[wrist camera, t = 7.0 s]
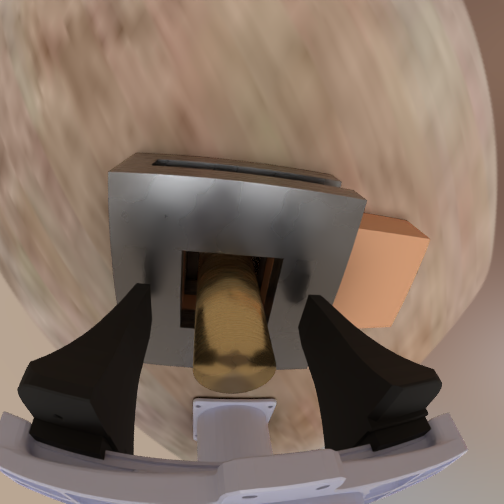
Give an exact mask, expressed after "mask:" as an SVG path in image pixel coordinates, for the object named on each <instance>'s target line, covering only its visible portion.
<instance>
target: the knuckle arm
mask: <svg viewBox="0 0 504 504" xmlns="http://www.w3.org/2000/svg"><path fill="white" fill-rule="evenodd" d="M429 242H430V238H428V237H427V236H426V235H425V234H423V233H422V232H421V231H420V230H418V229H417V228H416V227H414V226H413V225H412V224H411V223H409V222H408V221H406V220H401V219H396V218H390V217H385V216H379V215H373V214H367V213H363V216H362V220H361V223H360V226H359V230H358V233H357V236H356V239H355V242H354V245H353V249H352V252H351V255H350V258H349V261H348V264H347V267H346V269H345V272H344V275H343V278H342V281H341V284H340V287H339V289H338V292H337V295H336V297H335V300H334V303H333V305H332V306H333V307H335V308H336V309H337V310H338V311H339V312H340V313H341V314H342V315H343V316H344V317H345V318H347V319H348V320H349V321H350V322H351V323H352V324H353V325H355V326H356V327H357V328H375V327H391V325H392V324H393V322H394V320H395V318H396V316H397V314H398V312H399V310H400V308H401V306H402V304H403V302H404V300H405V298H406V296H407V293H408V291H409V289H410V287H411V285H412V283H413V280H414V278H415V276H416V274H417V271H418V269H419V267H420V264H421V262H422V259H423V257H424V255H425V252H426V250H427V247H428V244H429ZM185 254H186V251H184V261H183V291H182V309H186V310H196V296H197V295H188V294H184V277H185ZM273 262H274V258H270V257H267V261H266V266H265V271H264V276H263V281H262V286H261V290H260V296H261V300H262V304H263V307H264V303H265V298H266V294H267V289H268V285H269V280H270V276H271V271H272V266H273Z"/></svg>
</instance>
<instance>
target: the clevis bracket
mask: <svg viewBox="0 0 504 504" xmlns="http://www.w3.org/2000/svg"><path fill="white" fill-rule="evenodd" d="M341 183H342V182H341V181H340V180H338V179H337V178H335V177H334V176H333V175H330V174H324V173H319V172H313V171H307V170H301V169H295V168H289V167H282V166H276V165H269V164H261V163H254V162H246V161H237V160H228V159H219V158H209V157H197V156H185V155H171V154H153V153H135V154H134V155H132V156H131V157H129V158H128V159H126V160H125V161H123V162H122V163H120V164H119V165H117V166H116V167H114V168H113V169H112V170H110V171H109V172H108V205H109V229H110V244H111V256H112V267H113V276H114V285H115V292H116V300H117V304H118V303H119V302H120V301H121V300H122V299H123V298H124V297H125V296H126V294H127V293H128V292H129V291H130V290H131V289H132V288H133V286H134V285H135V284H137V283H142V284H150V290H151V307H152V325H151V332H150V339H149V343H148V346H147V350H146V354H145V358H144V362H143V363H147V364H156V365H166V366H178V367H191V368H193V353H194V330H195V312H196V310H186V309H182V291H183V261H184V251H186V254H185V277H184V294H188V295H197V282H198V280H190V279H186V265H187V251H195V252H208V253H220V254H233V255H245V256H258V257H261V258H260V263H259V268H258V274H257V282H258V287H259V291H260V290H261V286H262V281H263V276H264V271H265V266H266V261H267V257H270V258H274V262H273V266H272V271H271V276H270V280H269V285H268V289H267V294H266V298H265V303H264V307H263V309H264V313H265V317H266V322H267V326H268V330H269V335H270V339H271V343H272V348H273V352H274V356H275V361H276V370H282V369H307V367H308V363H307V361H306V358H305V355H304V352H303V349H302V346H301V341H300V336H299V330H298V325H299V322H300V319H301V316H302V313H303V310H304V307H305V304H306V301H307V298H308V295H321V296H322V297H324V298H325V299H326V300H327V301H328V302H329V303H330V304H331V305H333V303H334V300H335V297H336V295H337V292H338V289H339V287H340V284H341V281H342V278H343V275H344V272H345V269H346V267H347V264H348V261H349V258H350V255H351V252H352V249H353V245H354V242H355V239H356V236H357V233H358V230H359V226H360V223H361V220H362V216H363V213H364V209H365V206H366V202H367V200H366V199H365V198H363V197H362V196H361V195H359V194H358V193H357V192H355V191H354V190H350V189H344V188H340V187H341Z"/></svg>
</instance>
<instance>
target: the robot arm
mask: <svg viewBox="0 0 504 504" xmlns="http://www.w3.org/2000/svg"><path fill="white" fill-rule="evenodd" d="M151 325H152V307H151V290H150V284H142V283H137V284H135V285H134V286H133V288H132V289H131V290H130V291H129V292H128V293H127V294H126V296H125V297H124V298H123V299H122V300H121V301H120V302H119V303H118V304H117V305H116V306H115V307H114V308H113V309H112V310H111V311H110V312H109V313H108V314H107V315H106V316H105V317H104V318H103V319H102V320H101V321H100V322H99V323H97V324H96V325H95V326H94V327H93V328H91V329H90V330H89V331H88V332H86V333H85V334H84V335H82V336H80V337H79V338H77V339H76V340H74V341H73V342H71V343H70V344H68V345H66V346H64V347H63V348H61V349H59V350H57V351H55V352H53V353H51V354H49V355H47V356H44V357H41V358H39V359H37V360H34V361H31V362H30V363H29V365H28V367H27V369H26V371H25V373H24V375H23V377H22V380H21V382H20V385H19V387H18V394H19V397H20V398H21V400H22V402H23V403H24V404H25V406H26V407H27V409H28V410H29V411H30V413H31V414H32V415H33V417H34V419H33V422H32V424H31V423H30V422H28V421H27V420H25V419H23V418H20V417H18V416H15V415H12V414H10V413H8V412H3V414H2V417H1V420H0V471H1V472H2V473H4V474H5V475H6V476H8V477H9V478H10V479H12V480H13V481H15V482H16V483H18V484H19V485H22V486H24V487H26V488H28V489H31V490H33V491H35V492H38V493H40V494H43V495H45V496H47V497H50V498H53V499H55V500H58V501H61V502H64V503H66V504H369V503H371V502H374V501H377V500H380V499H382V498H385V497H387V496H389V495H392V494H394V493H396V492H399V491H401V490H404V489H406V488H408V487H410V486H412V485H415V484H417V483H419V482H421V481H423V480H425V479H427V478H429V477H432V476H434V475H436V474H437V473H439V472H440V471H442V470H443V469H445V468H446V467H447V466H449V465H450V464H452V463H453V462H454V461H456V460H457V459H458V458H460V457H461V456H462V455H463V454H465V453H466V452H467V451H468V448H467V446H466V444H465V442H464V440H463V438H462V436H461V434H460V432H459V430H458V429H457V427H456V425H455V423H454V421H453V419H452V418H451V416H450V414H449V413H445V414H442V415H439V416H437V417H434V418H432V419H431V420H429V421H427V419H426V417H425V416H427V415H428V412H427V410H426V407H427V406H428V405H429V404H430V402H431V401H432V400H433V399H434V398H435V397H436V396H437V394H438V393H439V391H440V389H441V387H442V382H441V380H440V379H439V377H438V375H437V374H436V372H435V371H434V369H431V368H428V367H425V366H423V365H420V364H417V363H414V362H412V361H410V360H408V359H405V358H403V357H401V356H399V355H397V354H395V353H394V352H392V351H390V350H388V349H386V348H385V347H383V346H382V345H380V344H379V343H377V342H376V341H374V340H373V339H371V338H370V337H368V336H367V335H366V334H364V333H363V332H362V331H361V330H359V329H358V328H357V327H356V326H355V325H353V324H352V323H351V322H350V321H349V320H348V319H347V318H345V317H344V316H343V315H342V314H341V313H340V312H339V311H338V310H337V309H336V308H335V307H333V306H332V305H331V304H330V303H329V302H328V301H327V300H326V299H325V298H324V297H322V296H321V295H308V298H307V301H306V304H305V307H304V310H303V313H302V316H301V319H300V322H299V325H298V330H299V336H300V341H301V346H302V349H303V352H304V355H305V358H306V361H307V363H308V366H309V369H310V372H311V375H312V378H313V381H314V384H315V388H316V392H317V397H318V402H319V407H320V413H321V419H322V426H323V434H324V443H325V449H318V450H311V451H304V452H296V453H286V454H275V455H273V451H272V446H271V440H270V435H269V429H268V422H269V420H270V418H271V416H272V413H273V411H274V409H275V406H276V404H277V403H276V400H275V399H205V398H196V399H194V400H193V439H194V440H196V441H197V453H198V461H182V460H169V459H159V458H150V457H142V456H135V455H134V454H133V452H134V446H133V445H134V422H135V409H136V398H137V389H138V383H139V378H140V373H141V369H142V366H143V362H144V358H145V354H146V350H147V346H148V343H149V339H150V332H151Z"/></svg>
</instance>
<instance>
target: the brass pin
mask: <svg viewBox="0 0 504 504" xmlns="http://www.w3.org/2000/svg"><path fill="white" fill-rule="evenodd" d="M275 371H276V361H275V356H274V352H273V348H272V343H271V339H270V335H269V330H268V326H267V322H266V317H265V313H264V309H263V304H262V300H261V296H260V291H259V287H258V282H257V278H256V274H255V269H254V265H253V261H252V256H245V255H233V254H220V253H208V252H200V256H199V268H198V282H197V296H196V312H195V330H194V353H193V374H194V376H195V378H196V380H197V381H198V382H199V383H200V384H201V385H202V386H204V387H206V388H208V389H210V390H213V391H216V392H220V393H230V394H234V393H243V392H248V391H251V390H254V389H257V388H259V387H261V386H263V385H264V384H266V383H267V382H268V381H269V380H270V379H271V378H272V377H273V375H274V373H275Z"/></svg>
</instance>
